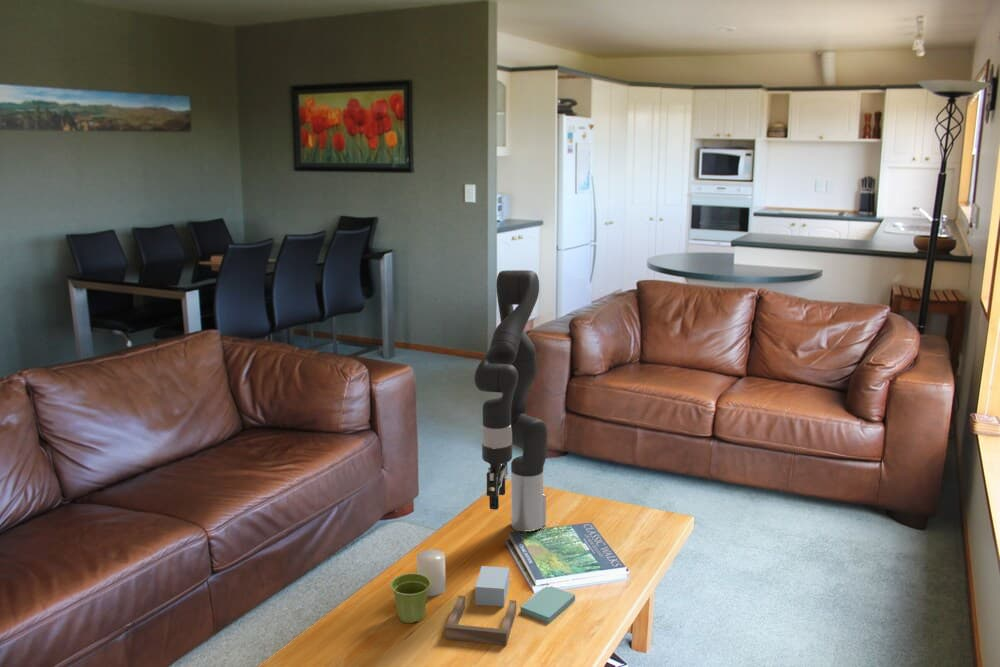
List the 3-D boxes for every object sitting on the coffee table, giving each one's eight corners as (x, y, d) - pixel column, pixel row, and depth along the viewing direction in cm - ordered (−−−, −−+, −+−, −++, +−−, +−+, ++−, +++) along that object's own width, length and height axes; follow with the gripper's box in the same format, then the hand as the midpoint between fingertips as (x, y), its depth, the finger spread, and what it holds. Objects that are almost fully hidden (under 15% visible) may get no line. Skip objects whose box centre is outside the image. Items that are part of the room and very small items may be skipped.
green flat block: (547, 592, 207) (547, 584, 207) (575, 602, 203) (575, 594, 202) (520, 614, 198) (520, 606, 197) (549, 625, 193) (549, 617, 193)
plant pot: (438, 609, 199) (437, 576, 197) (421, 631, 190) (420, 597, 188) (402, 602, 202) (401, 570, 200) (385, 623, 193) (383, 590, 191)
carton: (481, 583, 211) (481, 566, 209) (509, 585, 210) (509, 567, 208) (475, 605, 201) (475, 586, 200) (504, 607, 200) (504, 588, 199)
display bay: (458, 606, 200) (458, 595, 199) (516, 612, 198) (516, 600, 197) (445, 639, 187) (445, 627, 186) (506, 645, 185) (506, 633, 184)
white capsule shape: (436, 578, 213) (435, 546, 211) (451, 590, 207) (450, 557, 205) (412, 587, 209) (411, 554, 207) (426, 599, 203) (425, 566, 201)
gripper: (488, 430, 214) (489, 489, 218) (475, 450, 200) (476, 512, 204) (517, 432, 213) (517, 491, 216) (506, 452, 199) (506, 515, 203)
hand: (497, 501), depth 210 cm, fingers open, 8 cm apart
